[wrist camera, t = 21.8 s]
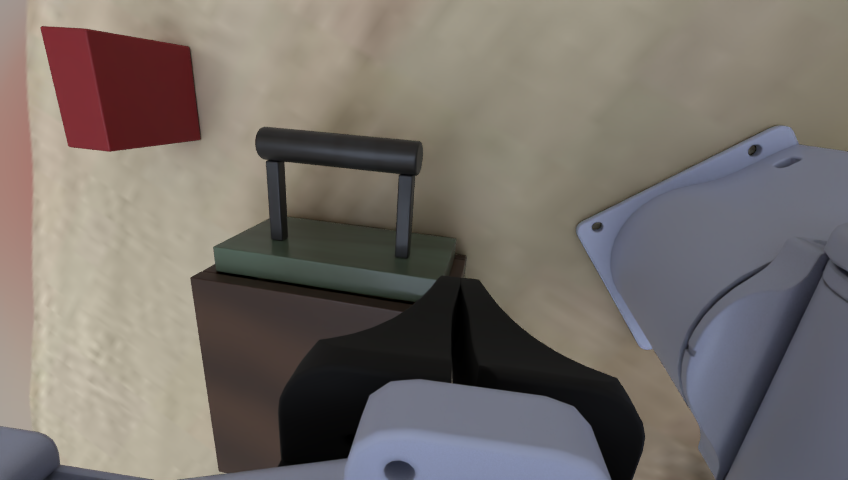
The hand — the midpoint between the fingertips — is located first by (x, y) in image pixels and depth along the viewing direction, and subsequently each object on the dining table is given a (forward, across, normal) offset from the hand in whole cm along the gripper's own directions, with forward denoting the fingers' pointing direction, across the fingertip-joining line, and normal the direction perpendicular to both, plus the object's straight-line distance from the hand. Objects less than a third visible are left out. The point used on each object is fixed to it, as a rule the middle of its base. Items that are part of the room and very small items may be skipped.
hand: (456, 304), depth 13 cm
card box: (+10, +16, -5) cm, 20 cm away
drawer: (+8, +5, +3) cm, 10 cm away
